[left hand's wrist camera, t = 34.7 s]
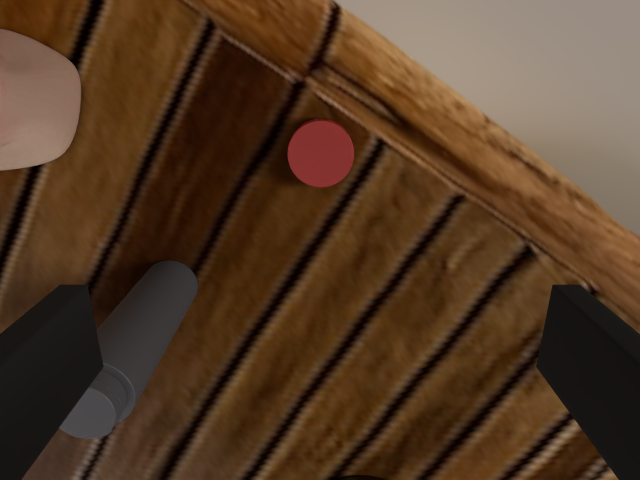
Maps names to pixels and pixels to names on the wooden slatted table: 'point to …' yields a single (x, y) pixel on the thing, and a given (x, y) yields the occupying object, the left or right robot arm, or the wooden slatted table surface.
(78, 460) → the wooden slatted table surface
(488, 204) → the wooden slatted table surface
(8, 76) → the anatomical model
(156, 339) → the jar
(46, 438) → the left robot arm
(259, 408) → the wooden slatted table surface
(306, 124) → the lid
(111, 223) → the wooden slatted table surface
